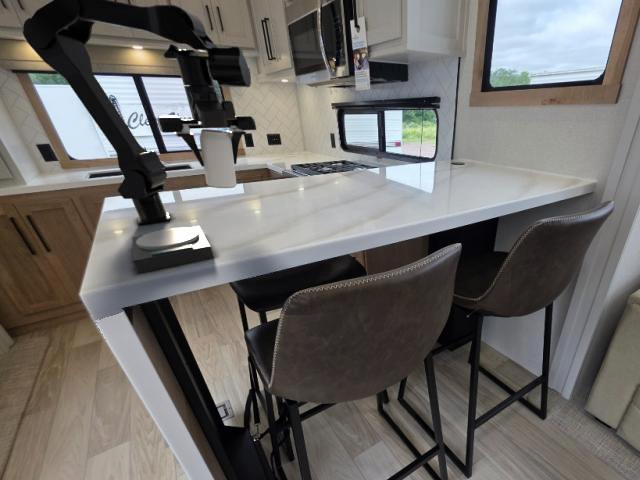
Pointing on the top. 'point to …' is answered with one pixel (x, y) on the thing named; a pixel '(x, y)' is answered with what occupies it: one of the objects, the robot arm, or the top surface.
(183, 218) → the top surface
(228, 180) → the can
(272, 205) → the top surface
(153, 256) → the scale
